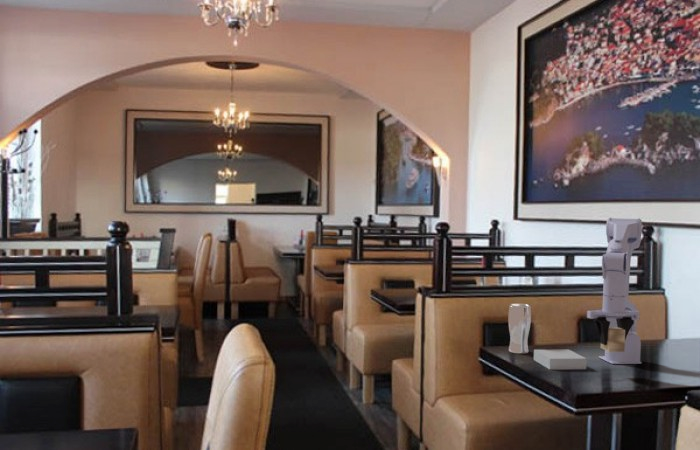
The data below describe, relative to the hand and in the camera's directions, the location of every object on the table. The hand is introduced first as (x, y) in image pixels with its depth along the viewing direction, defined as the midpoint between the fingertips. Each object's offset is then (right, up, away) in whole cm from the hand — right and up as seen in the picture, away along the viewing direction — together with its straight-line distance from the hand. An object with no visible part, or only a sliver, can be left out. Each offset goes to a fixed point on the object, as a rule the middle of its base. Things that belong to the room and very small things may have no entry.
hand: (612, 344), depth 169 cm
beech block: (0, -2, 0) cm, 2 cm away
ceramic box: (-11, -8, +10) cm, 17 cm away
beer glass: (-19, -8, +25) cm, 33 cm away
